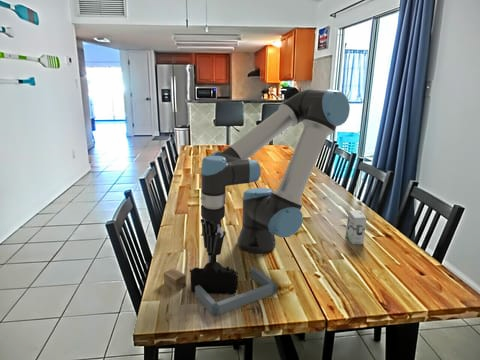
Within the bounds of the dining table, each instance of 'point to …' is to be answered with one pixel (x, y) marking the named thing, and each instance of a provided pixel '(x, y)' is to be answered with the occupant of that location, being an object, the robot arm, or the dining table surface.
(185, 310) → the dining table surface
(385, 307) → the dining table surface
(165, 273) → the oak chock block
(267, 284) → the bay
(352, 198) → the dining table surface
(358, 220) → the ink box
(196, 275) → the film camera
